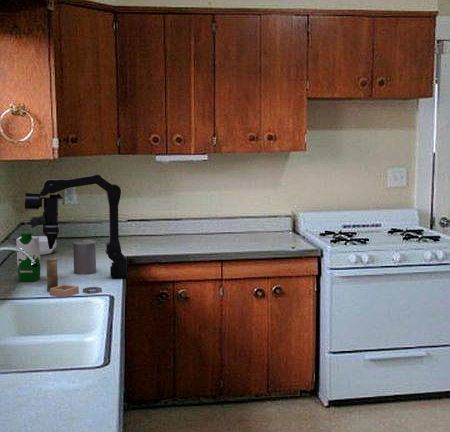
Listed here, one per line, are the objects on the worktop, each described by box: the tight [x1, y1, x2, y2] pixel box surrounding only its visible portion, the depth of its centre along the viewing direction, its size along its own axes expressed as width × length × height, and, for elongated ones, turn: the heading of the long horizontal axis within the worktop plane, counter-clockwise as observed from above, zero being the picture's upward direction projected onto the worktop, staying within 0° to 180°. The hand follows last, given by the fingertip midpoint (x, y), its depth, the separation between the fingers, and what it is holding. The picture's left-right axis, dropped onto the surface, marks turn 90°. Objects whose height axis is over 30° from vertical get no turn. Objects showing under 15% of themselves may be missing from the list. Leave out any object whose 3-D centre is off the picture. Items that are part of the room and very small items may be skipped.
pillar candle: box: [72, 239, 97, 275], centre depth 287 cm, size 10×10×15 cm
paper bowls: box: [39, 235, 57, 256], centre depth 335 cm, size 15×15×8 cm
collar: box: [49, 284, 80, 298], centre depth 248 cm, size 8×8×2 cm
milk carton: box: [15, 232, 41, 283], centre depth 272 cm, size 9×9×20 cm
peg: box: [45, 256, 59, 293], centre depth 253 cm, size 4×4×13 cm
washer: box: [82, 286, 103, 294], centre depth 253 cm, size 7×7×1 cm
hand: (50, 247), depth 269 cm, fingers open, 9 cm apart
